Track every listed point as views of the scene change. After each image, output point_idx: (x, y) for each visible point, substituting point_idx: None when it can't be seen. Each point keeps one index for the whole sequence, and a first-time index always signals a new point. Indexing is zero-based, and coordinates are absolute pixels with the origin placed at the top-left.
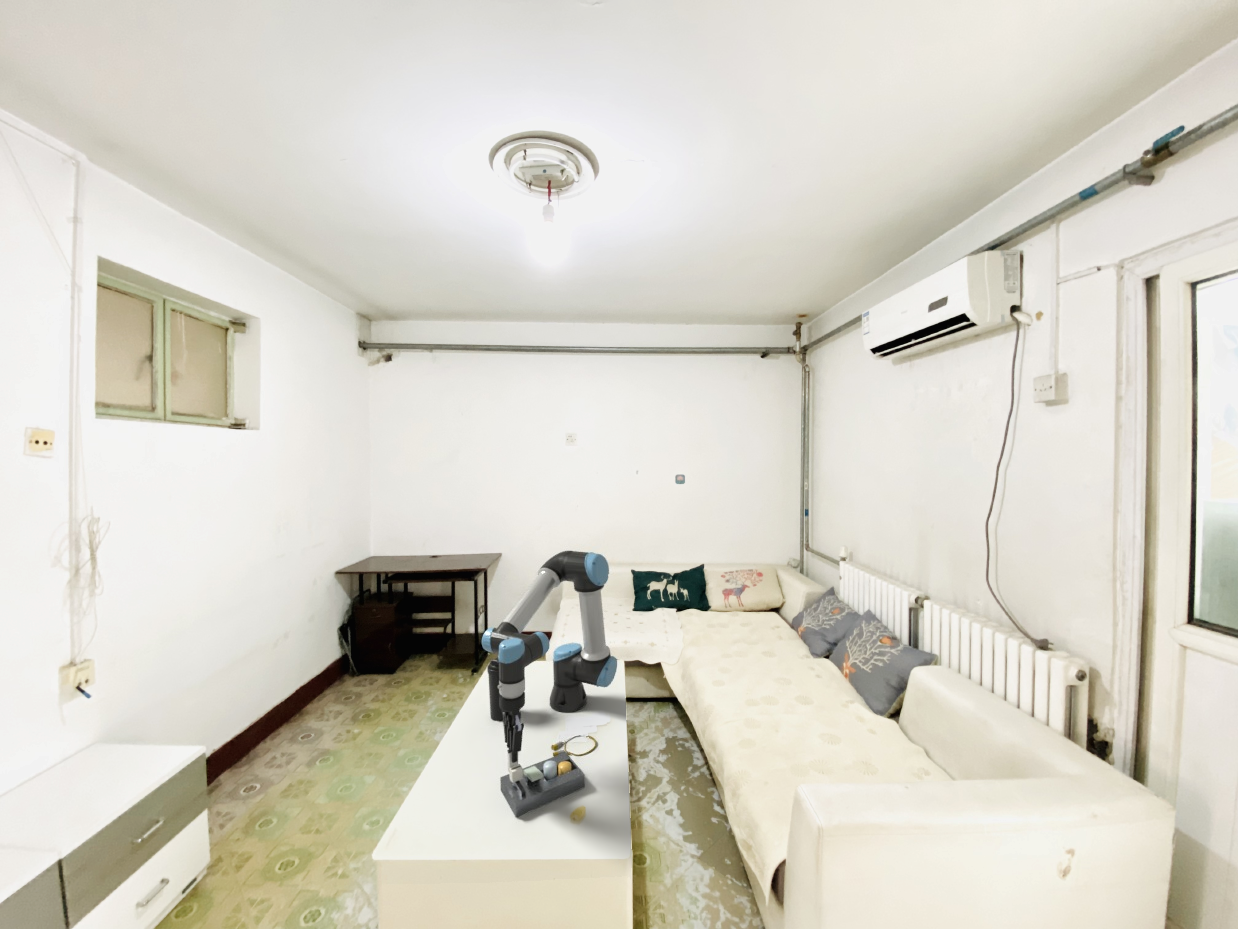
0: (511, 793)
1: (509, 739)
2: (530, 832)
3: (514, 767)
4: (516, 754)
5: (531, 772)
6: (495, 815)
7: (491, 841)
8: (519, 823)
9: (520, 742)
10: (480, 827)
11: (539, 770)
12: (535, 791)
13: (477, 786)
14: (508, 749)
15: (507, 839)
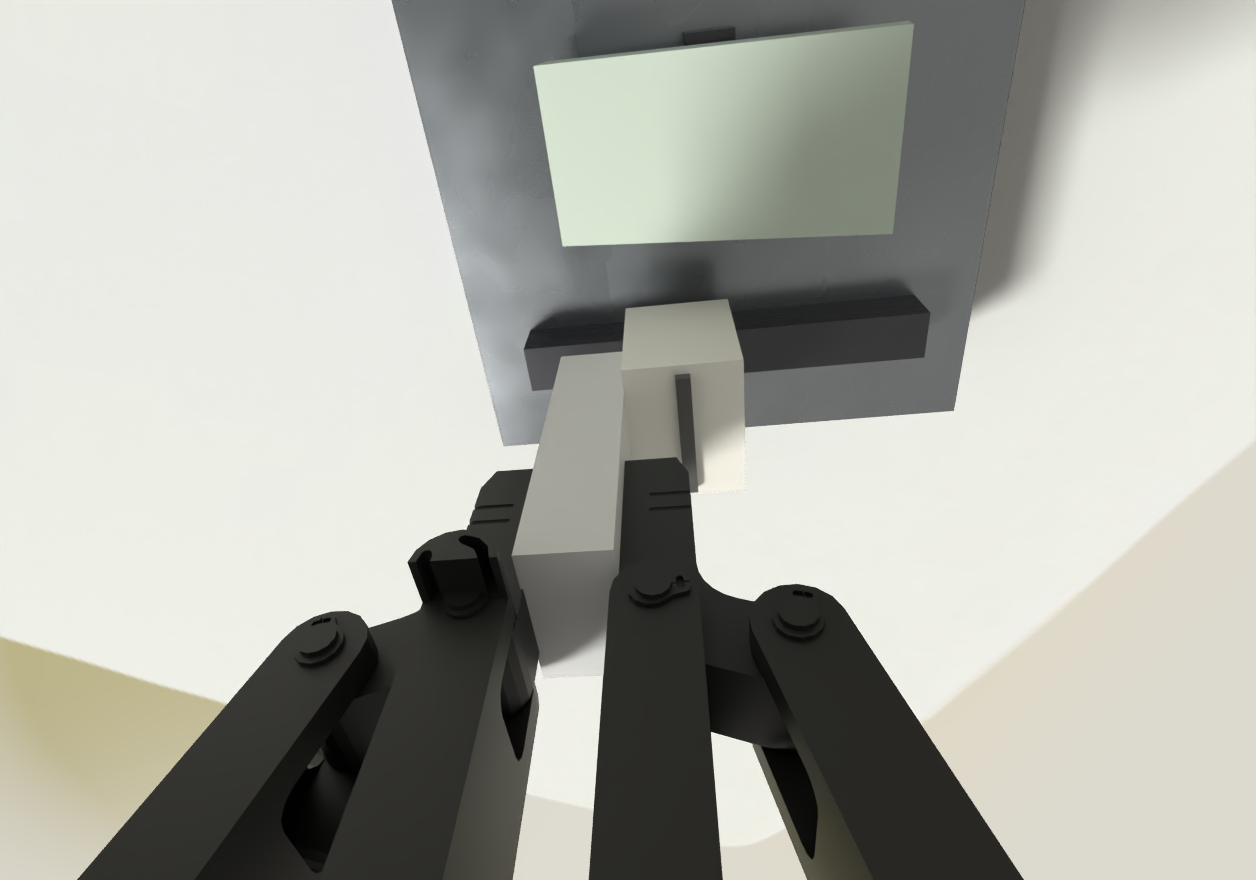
0: (795, 411)
1: (506, 837)
2: (1149, 285)
3: (668, 448)
4: (695, 556)
5: (713, 177)
6: (784, 468)
7: (997, 530)
8: (988, 338)
9: (992, 865)
10: (832, 560)
11: (750, 44)
12: (936, 173)
13: (411, 514)
14: (552, 671)
15: (1065, 447)
